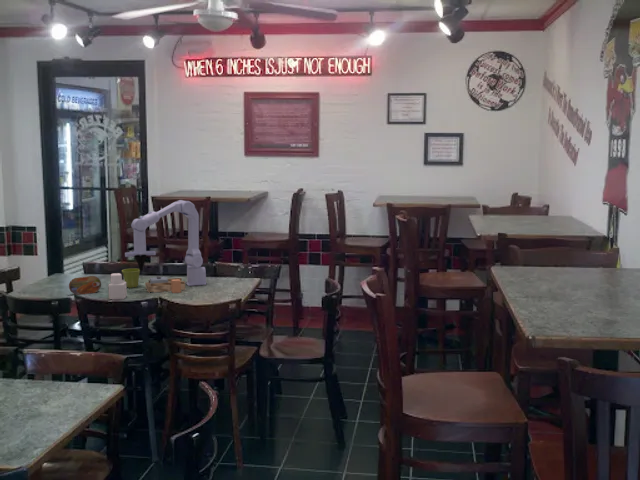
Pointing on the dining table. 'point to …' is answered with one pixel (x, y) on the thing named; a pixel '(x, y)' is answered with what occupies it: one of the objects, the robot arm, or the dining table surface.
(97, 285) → the tin
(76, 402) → the dining table surface
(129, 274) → the plant pot
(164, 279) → the slate cover
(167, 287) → the puzzle board
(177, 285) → the terracotta block
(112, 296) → the medicine bottle
